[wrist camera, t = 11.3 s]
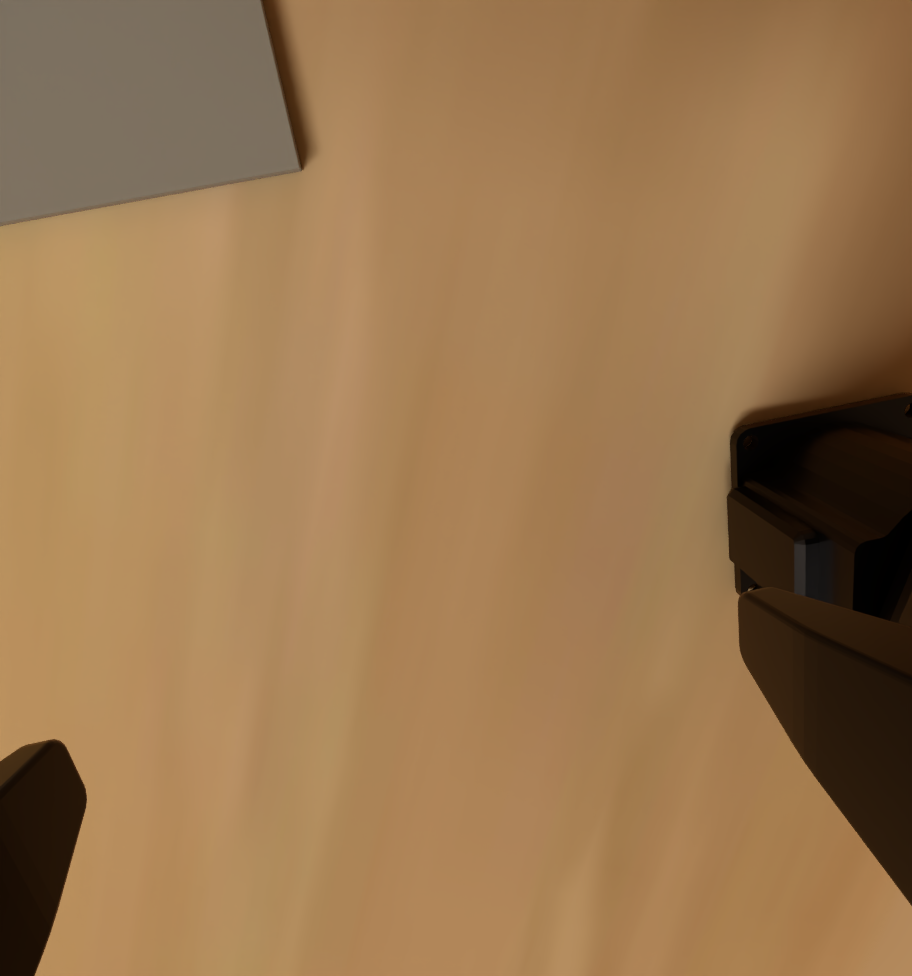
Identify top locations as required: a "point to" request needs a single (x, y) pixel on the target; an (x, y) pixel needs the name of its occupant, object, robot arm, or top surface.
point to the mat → (135, 102)
